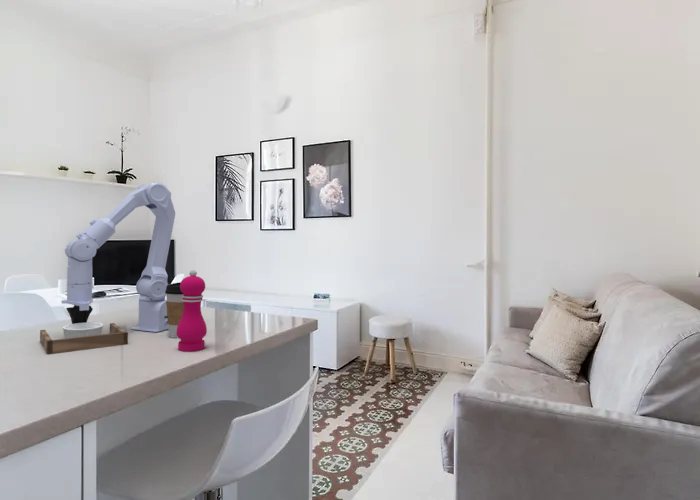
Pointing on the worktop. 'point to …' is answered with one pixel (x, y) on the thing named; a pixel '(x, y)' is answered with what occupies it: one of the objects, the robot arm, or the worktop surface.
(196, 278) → the pepper mill
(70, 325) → the ramekin
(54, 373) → the worktop surface
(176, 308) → the coffee cup
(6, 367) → the worktop surface
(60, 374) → the worktop surface
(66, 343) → the box
